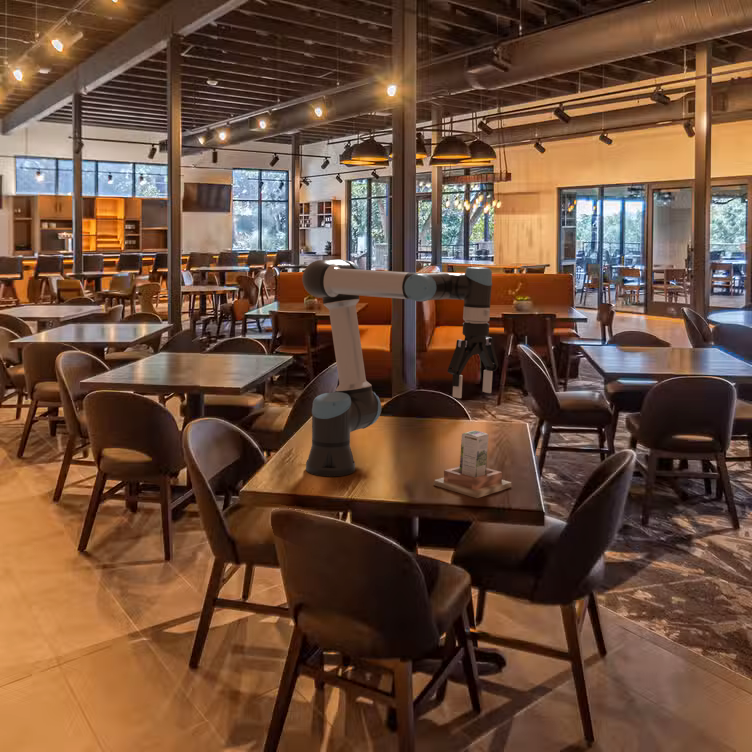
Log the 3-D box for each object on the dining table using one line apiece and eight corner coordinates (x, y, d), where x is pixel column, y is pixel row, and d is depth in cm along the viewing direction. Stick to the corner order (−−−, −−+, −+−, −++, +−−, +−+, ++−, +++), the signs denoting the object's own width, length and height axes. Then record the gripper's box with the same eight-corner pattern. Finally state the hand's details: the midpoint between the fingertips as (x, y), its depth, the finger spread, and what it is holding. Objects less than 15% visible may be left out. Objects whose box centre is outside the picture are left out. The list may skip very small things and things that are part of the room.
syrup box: (469, 477, 237) (471, 429, 235) (486, 481, 233) (488, 433, 231) (458, 481, 233) (460, 432, 231) (475, 485, 229) (477, 436, 227)
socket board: (476, 498, 222) (477, 482, 222) (433, 485, 233) (434, 470, 233) (511, 487, 233) (511, 472, 233) (468, 475, 245) (469, 460, 244)
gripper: (457, 325, 216) (453, 401, 220) (513, 321, 234) (508, 392, 237) (437, 322, 222) (433, 397, 225) (492, 318, 239) (488, 388, 242)
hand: (472, 395), depth 231 cm, fingers open, 13 cm apart
